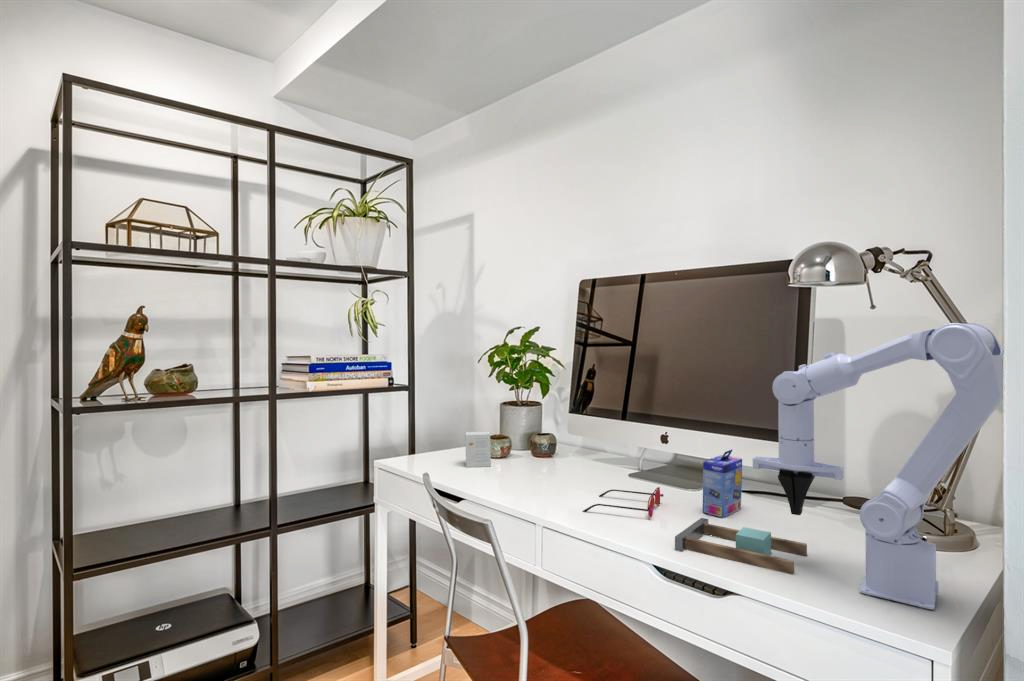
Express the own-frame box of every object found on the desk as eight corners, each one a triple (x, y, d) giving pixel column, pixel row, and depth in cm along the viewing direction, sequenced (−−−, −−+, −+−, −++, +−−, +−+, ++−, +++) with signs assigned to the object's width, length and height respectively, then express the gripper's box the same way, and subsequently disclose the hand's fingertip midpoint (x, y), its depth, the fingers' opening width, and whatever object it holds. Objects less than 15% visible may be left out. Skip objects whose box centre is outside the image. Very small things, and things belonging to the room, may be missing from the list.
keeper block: (771, 553, 106) (770, 532, 106) (764, 561, 102) (763, 540, 102) (743, 547, 109) (743, 527, 109) (735, 555, 105) (735, 534, 105)
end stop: (708, 530, 118) (708, 519, 118) (682, 551, 107) (682, 538, 107) (701, 529, 119) (701, 517, 119) (674, 549, 108) (674, 536, 108)
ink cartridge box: (724, 519, 126) (724, 454, 126) (701, 513, 130) (700, 451, 129) (743, 509, 133) (743, 447, 132) (720, 504, 137) (720, 444, 136)
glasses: (652, 522, 125) (652, 500, 125) (581, 513, 132) (581, 492, 132) (664, 505, 138) (663, 484, 138) (598, 497, 145) (598, 478, 145)
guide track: (806, 554, 105) (806, 543, 105) (792, 574, 97) (792, 562, 97) (705, 532, 117) (705, 523, 117) (685, 549, 108) (685, 538, 108)
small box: (490, 463, 184) (490, 430, 184) (491, 467, 178) (490, 433, 178) (466, 463, 183) (465, 431, 183) (465, 467, 178) (465, 434, 178)
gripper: (846, 438, 99) (846, 515, 100) (759, 430, 109) (760, 500, 109) (839, 445, 94) (839, 526, 94) (748, 436, 103) (749, 510, 103)
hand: (796, 513), depth 101 cm, fingers closed
